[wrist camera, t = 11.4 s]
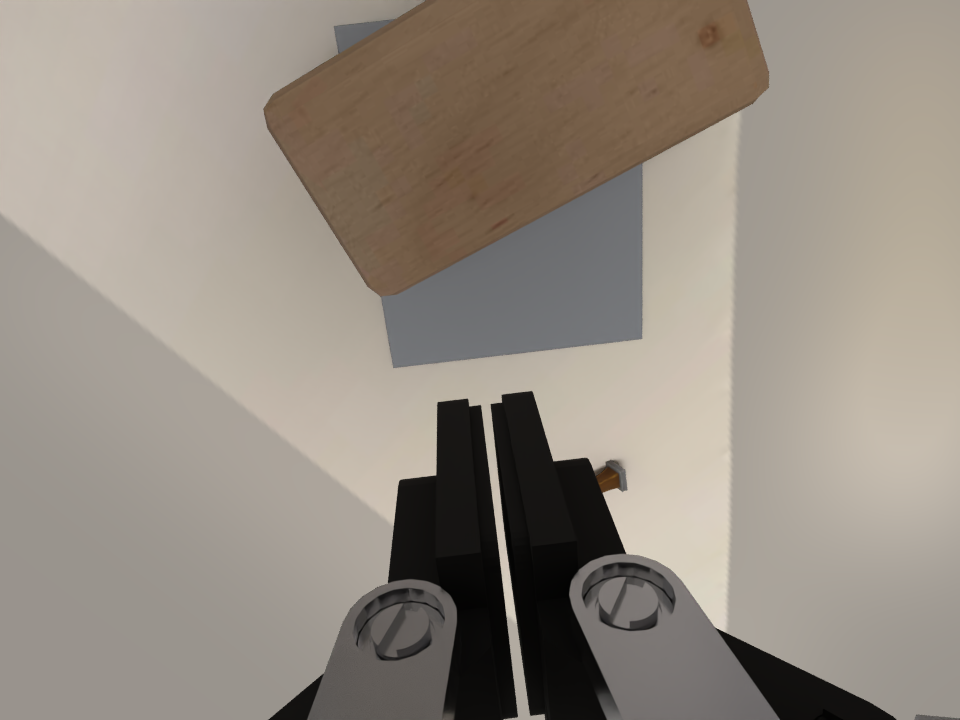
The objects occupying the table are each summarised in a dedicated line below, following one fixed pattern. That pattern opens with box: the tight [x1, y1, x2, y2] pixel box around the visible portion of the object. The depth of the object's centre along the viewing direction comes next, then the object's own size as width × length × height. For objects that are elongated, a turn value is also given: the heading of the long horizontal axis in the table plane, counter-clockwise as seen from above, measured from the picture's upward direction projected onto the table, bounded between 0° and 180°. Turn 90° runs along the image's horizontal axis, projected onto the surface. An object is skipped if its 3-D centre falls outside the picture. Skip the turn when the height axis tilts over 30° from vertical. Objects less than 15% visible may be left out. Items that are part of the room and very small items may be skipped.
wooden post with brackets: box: [596, 460, 627, 493], centre depth 45 cm, size 2×8×4 cm, turn 101°
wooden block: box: [263, 0, 769, 296], centre depth 30 cm, size 10×10×20 cm
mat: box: [334, 19, 642, 368], centre depth 37 cm, size 20×16×1 cm
